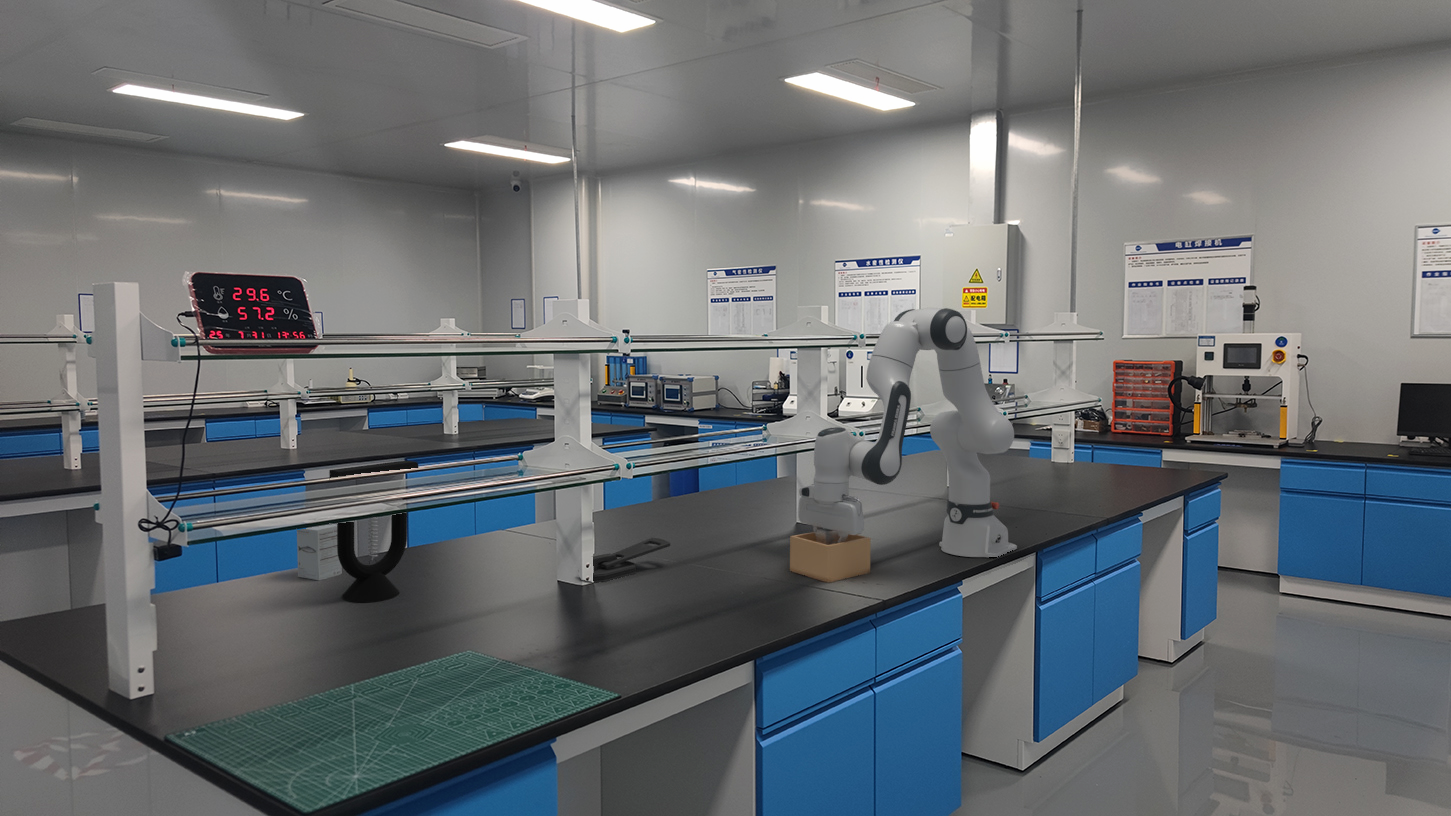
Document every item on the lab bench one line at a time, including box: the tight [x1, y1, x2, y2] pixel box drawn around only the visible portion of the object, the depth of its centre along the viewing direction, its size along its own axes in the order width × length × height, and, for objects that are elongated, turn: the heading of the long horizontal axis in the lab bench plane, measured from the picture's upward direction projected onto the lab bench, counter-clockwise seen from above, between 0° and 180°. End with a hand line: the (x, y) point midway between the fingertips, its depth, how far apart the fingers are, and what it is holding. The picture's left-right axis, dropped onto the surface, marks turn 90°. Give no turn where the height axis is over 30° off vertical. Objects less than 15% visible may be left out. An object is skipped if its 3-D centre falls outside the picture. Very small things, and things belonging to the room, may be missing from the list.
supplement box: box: [296, 523, 343, 582], centre depth 221 cm, size 7×7×13 cm
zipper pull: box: [592, 537, 671, 584], centre depth 227 cm, size 9×7×25 cm
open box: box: [789, 531, 872, 584], centre depth 227 cm, size 15×14×9 cm
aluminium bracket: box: [817, 528, 848, 545], centre depth 229 cm, size 8×6×10 cm
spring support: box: [328, 459, 419, 603], centre depth 206 cm, size 21×12×30 cm, turn 147°
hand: (830, 546), depth 227 cm, fingers open, 5 cm apart
